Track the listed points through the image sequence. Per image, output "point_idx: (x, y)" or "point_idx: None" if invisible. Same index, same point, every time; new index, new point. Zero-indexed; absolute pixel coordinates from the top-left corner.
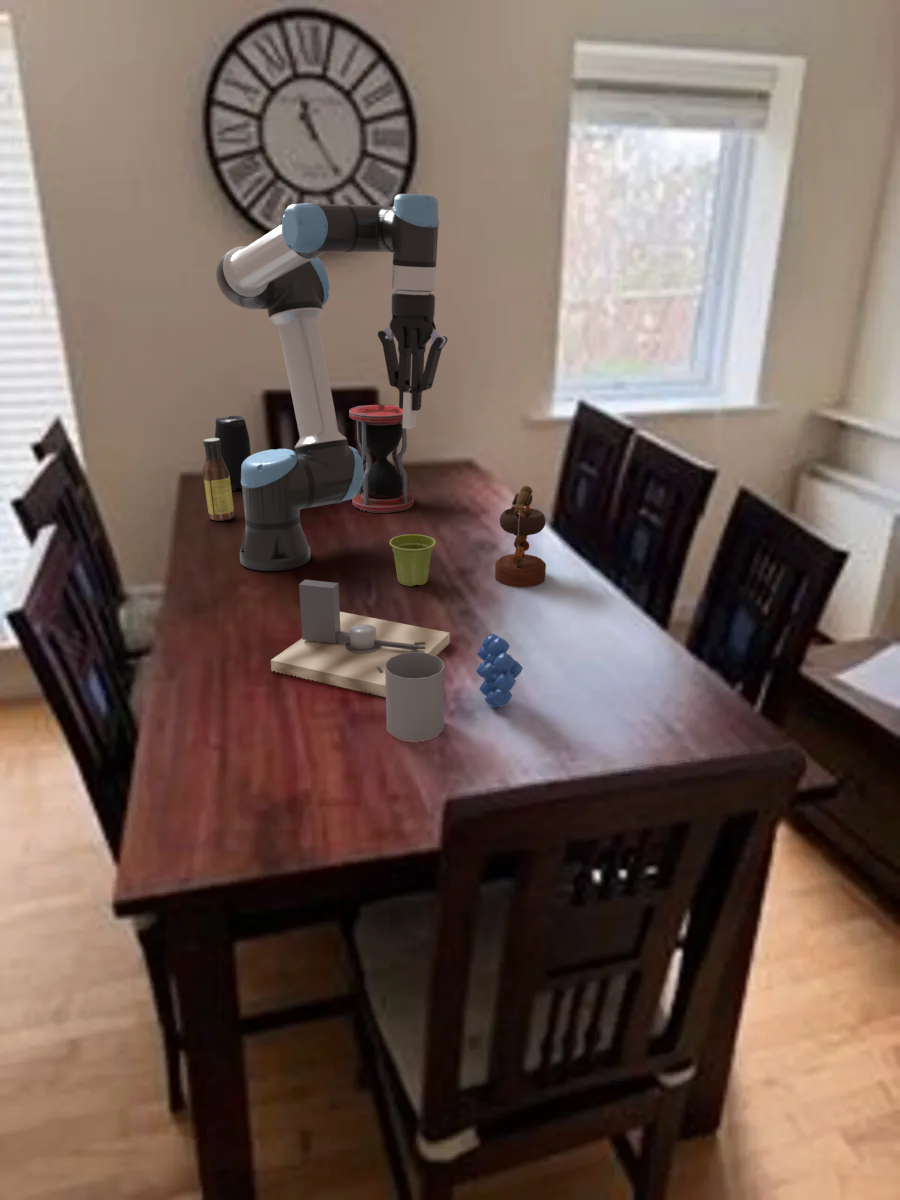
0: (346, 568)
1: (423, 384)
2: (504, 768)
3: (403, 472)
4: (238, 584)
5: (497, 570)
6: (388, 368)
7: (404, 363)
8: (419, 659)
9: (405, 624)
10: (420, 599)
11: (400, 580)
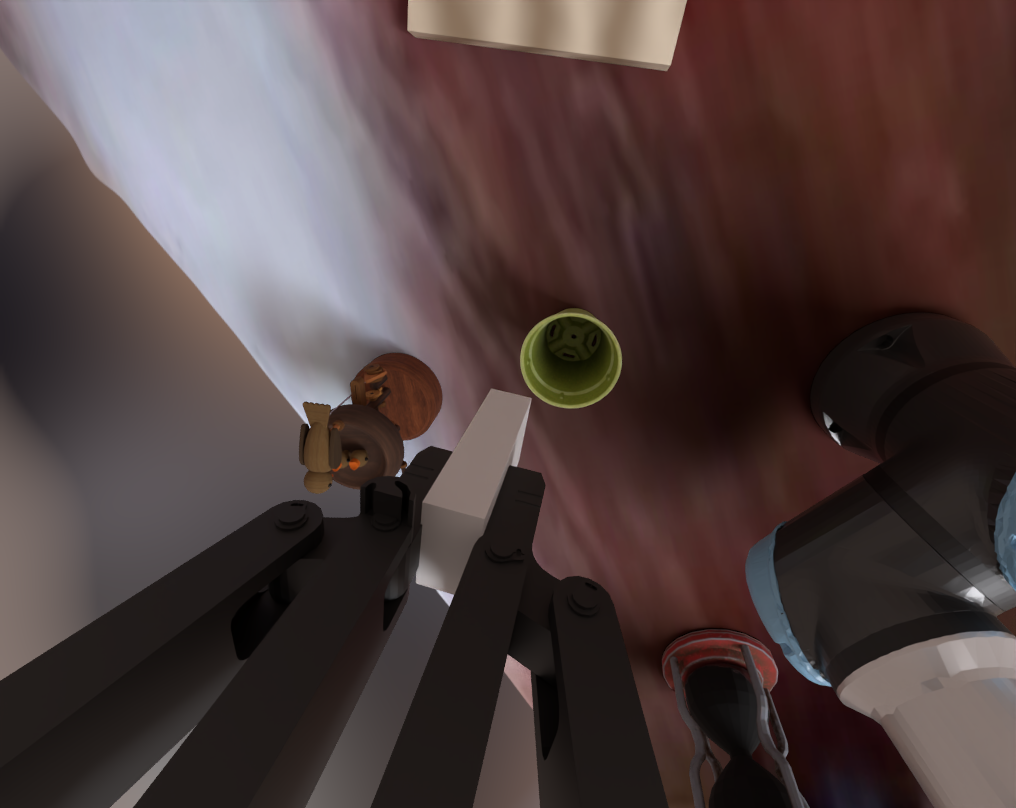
0: (720, 370)
1: (273, 534)
2: None
3: (686, 714)
4: (969, 221)
5: (425, 378)
6: (635, 766)
7: (380, 795)
8: None
9: (507, 41)
10: (534, 250)
11: (591, 314)
